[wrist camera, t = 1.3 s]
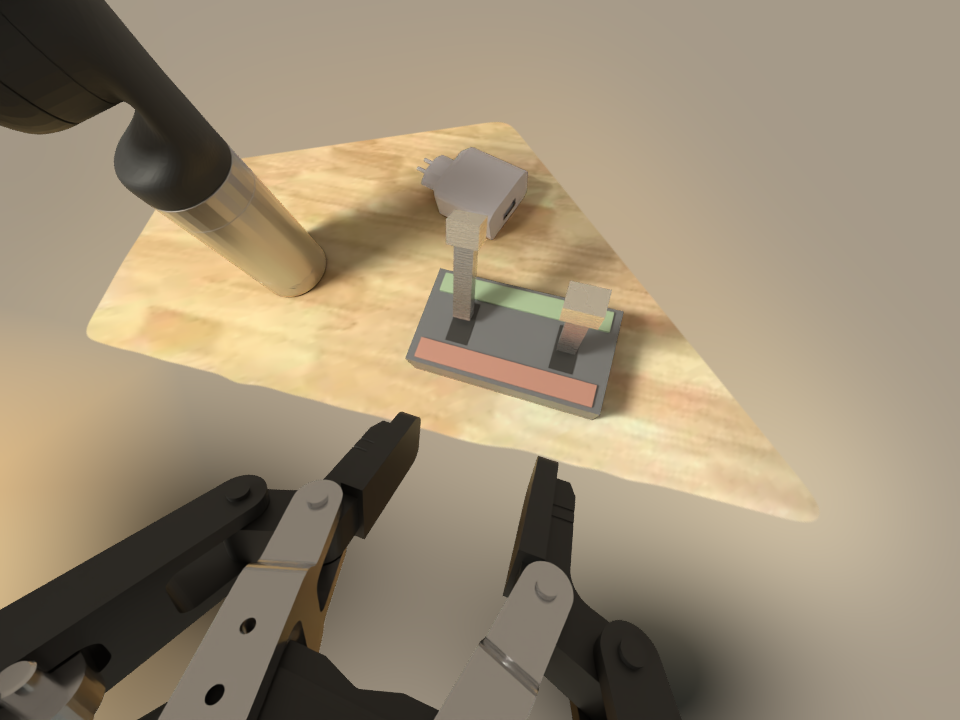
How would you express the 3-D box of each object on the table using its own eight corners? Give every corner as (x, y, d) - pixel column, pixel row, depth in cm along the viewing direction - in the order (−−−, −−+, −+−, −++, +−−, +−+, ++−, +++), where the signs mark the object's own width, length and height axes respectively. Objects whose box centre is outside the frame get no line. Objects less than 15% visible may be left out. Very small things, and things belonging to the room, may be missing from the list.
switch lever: (579, 360, 37) (605, 318, 26) (549, 352, 37) (562, 307, 27) (584, 339, 37) (611, 290, 27) (555, 332, 38) (570, 280, 27)
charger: (442, 155, 53) (527, 194, 50) (407, 199, 52) (491, 243, 48) (435, 127, 49) (528, 167, 45) (396, 174, 47) (488, 220, 44)
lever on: (473, 324, 39) (479, 225, 31) (446, 317, 39) (445, 218, 31) (480, 312, 40) (487, 215, 32) (454, 306, 41) (455, 209, 33)
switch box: (591, 419, 40) (600, 414, 36) (415, 367, 44) (404, 357, 40) (614, 325, 43) (624, 310, 39) (446, 284, 47) (439, 267, 43)
